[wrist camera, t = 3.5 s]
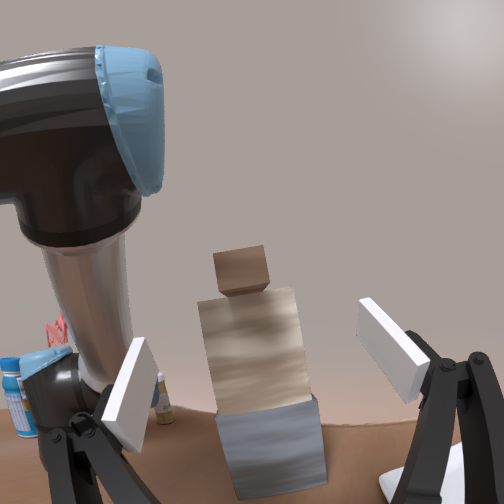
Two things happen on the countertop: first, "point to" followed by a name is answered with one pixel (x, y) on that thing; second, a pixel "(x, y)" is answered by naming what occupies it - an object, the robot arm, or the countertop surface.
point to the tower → (263, 393)
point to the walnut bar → (241, 271)
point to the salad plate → (451, 484)
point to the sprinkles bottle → (163, 403)
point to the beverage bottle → (17, 398)
